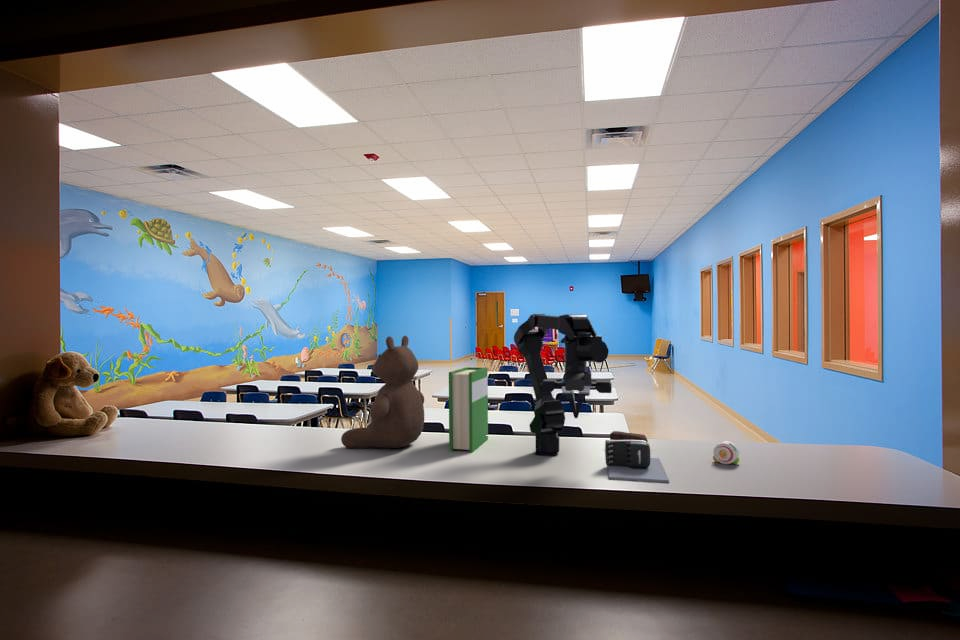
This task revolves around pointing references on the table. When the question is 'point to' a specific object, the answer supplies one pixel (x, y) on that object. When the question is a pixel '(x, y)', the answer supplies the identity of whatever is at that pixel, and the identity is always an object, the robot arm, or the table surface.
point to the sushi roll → (726, 453)
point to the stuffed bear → (392, 403)
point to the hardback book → (468, 408)
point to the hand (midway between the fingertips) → (576, 417)
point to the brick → (627, 436)
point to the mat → (640, 472)
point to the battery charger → (627, 453)
